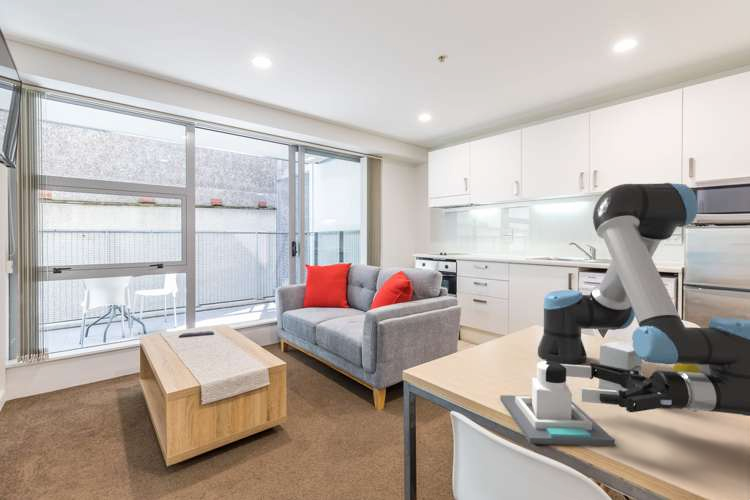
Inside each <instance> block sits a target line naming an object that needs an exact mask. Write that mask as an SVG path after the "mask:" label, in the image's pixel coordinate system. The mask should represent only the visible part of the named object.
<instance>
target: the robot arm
mask: <svg viewBox="0 0 750 500" xmlns="http://www.w3.org/2000/svg"><path fill="white" fill-rule="evenodd" d="M698 205H699V204H698V200H697V196H696V194H695V192H694V191H693V190H692V188H691V187H689V186H688V185H687V184H682V183H672V182H663V183H624V184H623V183H622V184H618V185H616V186H613V187H611V188H609V189H608V190H607V191H605V192H604V193H603V194H601V196H600V197H599V199H598V200H597V202H596V204H595V205H594V209H593V214H592V220H593V221H592V223H593V227H594V229H595V232H596V236H598V238H601V239H603V240H604V243H605V245H606V247H607V249H608V252H609V255H610V257H611V262H610V264H609V265H608V268H607V270H606V271H605V275H604V277H603V278H602V281H601V283H600V284H598V285H595V286H594V287H593V288H592V290H591V292H590V294H583V293H582V291H580V290H575V289H574V290H573V289H572V290H567V289H564V290H555V291H554V290H553V291H549V292H548V293H546V294H545V296H544V302H543V334H542V336H541V340H540V342H539V343H538V344H539V345H538V347H537V355H538V357H539V358H541V359H543V360H544V361H552V362H556V363H559V364H561V365H563V366H564V367H565V368H566V377H572V378H585V379H589V380H593V379H598V380H599V379H602V380H606V381H609V382H612V383H616V384H619V385H621V386H622V387H623V388H626V389H629V390H626V391H622V390H619V395H617V391H616V390H605V389H599V388H594V387H593V388H592V387H580V394H579V395H580V396H579V399H580V402H582V403H590V404H591V403H592V404H602V405H611V406H612V405H613V406H618V407H620V408H625V409H626V411H627V413H638V412H643V411H649V410H656V409H679V410H682V409H685V410H691V411H692V412H696V413H697V412H699V411H703V412H712V413H713V412H715V413H721V414H722V413H723V414H732V415H741V416H744V417H745V416H746V417H750V320H748V319H744V318H736V317H725V316H716V317H712V318H710V320H709V325H708V327H690V326H689V327H686V326H685V324H684V322H683V321H682V318H681V316H680V314H679V312H678V310H677V308H676V306H675V304H674V302H673V299H672V298H671V295H670V293H669V291H668V289H667V287H666V285H665V283H664V280H663V279H662V276H661V274H660V273H659V271H658V268H657V267H656V264H655V262H654V259H653V255H654V254H655V252H656V250H657V249H658V247H659V245H660V244H661V241H665V240H668V239H670V238H671V237H672V235H673V234H674V232H675V230H676V229H677V228H683V227H686V226H690V225H691V224H692V223H693V222H694V220H695V219H696V218H697V214H698V209H699V206H698ZM634 319H636V322H637V324H638V326H639V327H637V328H635V329H634V331H633V332H632V335H631V340H632V342H633V343H632V344H631V345H632V346H633V348H634V350H635V352H636V354H637V355H638V356H639V357H640V358H641V359H642V360H643V361H644V362H647V363H654V364H660V365H661V364H662V365H675V364H700V365H709V369H710V373H709V374H703V373H693V372H674V370H673V371H672V370H670V371H669V370H658V369H657V370H655V371H652V374H651V375H650V376H649V377H647V376H645V375H642V374H641V375H639V371H637V370H627V369H622V368H616V367H611V366H606V365H601V364H600V363H595V362H589V365H585V364H586V363H587V361H588V360H587V358H588V356H587V351H586V349H585V344H584V342H583V339H582V329H583V330H585V329H587V330H609V331H615V330H624V329H626V328H628V327H630V326H631V324H632V323H633V322H634Z"/></svg>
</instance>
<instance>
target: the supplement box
mask: <svg viewBox="0 0 750 500" xmlns="http://www.w3.org/2000/svg"><path fill="white" fill-rule="evenodd" d="M642 362H643V361H642V359H641V358H640V357H639V356H638V355H637V354H636V352H635V350H634V348H633V345H632V344H627V343H622V342H619V341H612V342H606V343H603V344H600V345H599V364H601V365H606V366H611V367H616V368H622V369H627V370H637V371H639V375H642V371H643V369H642V368H643V367H642V365H643V363H642ZM598 389H605V390H616V391H617V395H619V390H622V391H626V390H629V389H626V388H623V387H622V386H621V385H619V384H616V383H612V382H609V381H606V380H602V379H599V378H598Z"/></svg>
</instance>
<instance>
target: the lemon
mask: <svg viewBox="0 0 750 500" xmlns="http://www.w3.org/2000/svg"><path fill="white" fill-rule="evenodd" d="M673 365H674V366H673V371H674V372H693V373H700V372H699V368H698V366H697V365H696V364H673Z"/></svg>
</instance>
